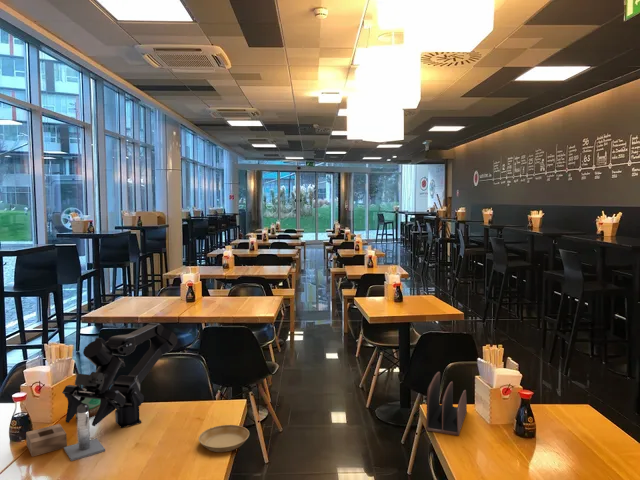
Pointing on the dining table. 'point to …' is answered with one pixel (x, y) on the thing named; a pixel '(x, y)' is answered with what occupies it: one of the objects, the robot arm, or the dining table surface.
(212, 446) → the plant saucer
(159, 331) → the robot arm
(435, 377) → the letter holder
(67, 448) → the slate pad
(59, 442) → the block
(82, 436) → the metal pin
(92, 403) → the food container
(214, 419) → the dining table surface
